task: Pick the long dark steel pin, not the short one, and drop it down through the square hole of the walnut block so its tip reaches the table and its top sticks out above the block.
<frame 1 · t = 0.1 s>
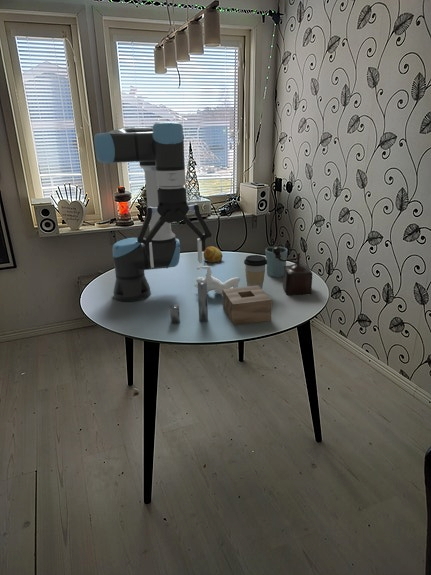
hand: (176, 264, 107), 28 cm above the table, tool pointing down, fingers open, 13 cm apart
person figurine: (217, 296, 156), on the table
short pin: (175, 322, 135), on the table
light blue mug: (275, 274, 178), on the table
long pin: (203, 319, 136), on the table
bread roll: (212, 260, 201), on the table
coffee cup: (255, 292, 159), on the table
pin block: (246, 314, 139), on the table
manual coffee grinder: (290, 290, 160), on the table
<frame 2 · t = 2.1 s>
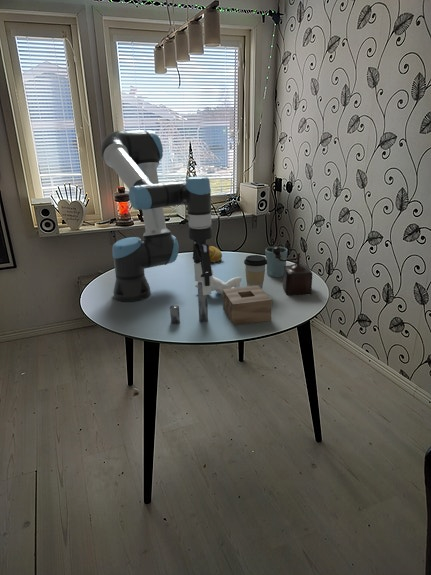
hand: (202, 287, 131), 13 cm above the table, tool pointing down, fingers open, 13 cm apart
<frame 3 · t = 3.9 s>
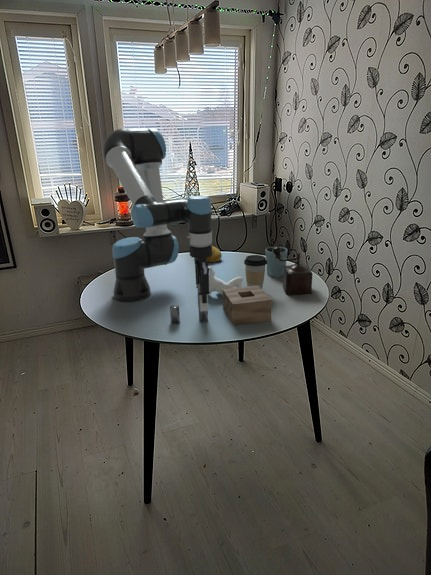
hand: (203, 308, 134), 5 cm above the table, tool pointing down, fingers closed on long pin, 3 cm apart
long pin: (203, 319, 136), on the table, touching gripper
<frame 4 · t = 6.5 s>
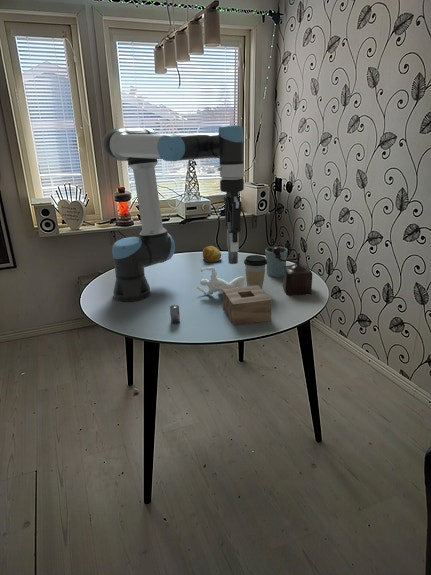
hand: (233, 249, 128), 25 cm above the table, tool pointing down, fingers closed on long pin, 3 cm apart
long pin: (233, 262, 130), point 21 cm above the table, touching gripper
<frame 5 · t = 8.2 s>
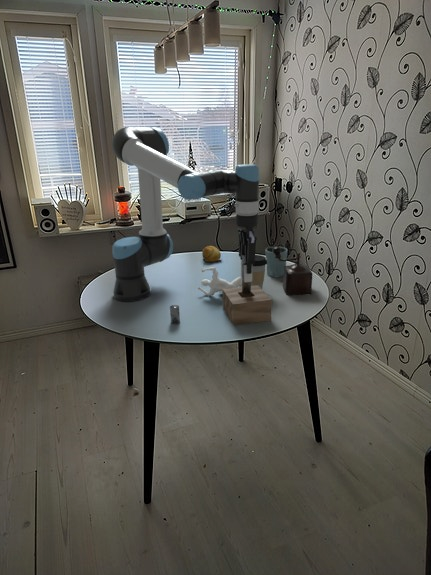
hand: (246, 279, 134), 14 cm above the table, tool pointing down, fingers closed on long pin, 3 cm apart
long pin: (246, 292, 136), point 9 cm above the table, touching gripper
when the fingers open (10 cm above the table, at t = 9.3 s): long pin drops 5 cm, resting in pin block.
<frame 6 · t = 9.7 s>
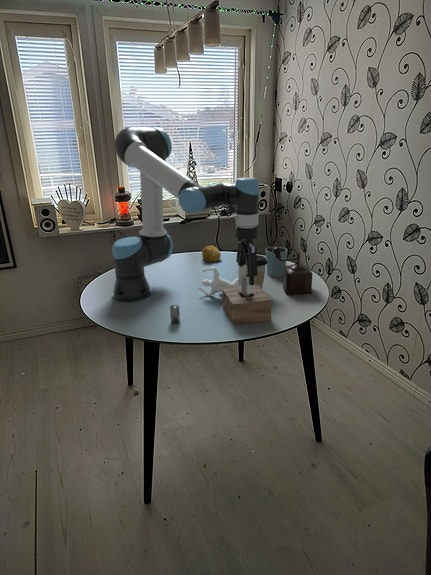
hand: (246, 287, 135), 11 cm above the table, tool pointing down, fingers open, 9 cm apart
long pin: (246, 314, 139), resting in pin block
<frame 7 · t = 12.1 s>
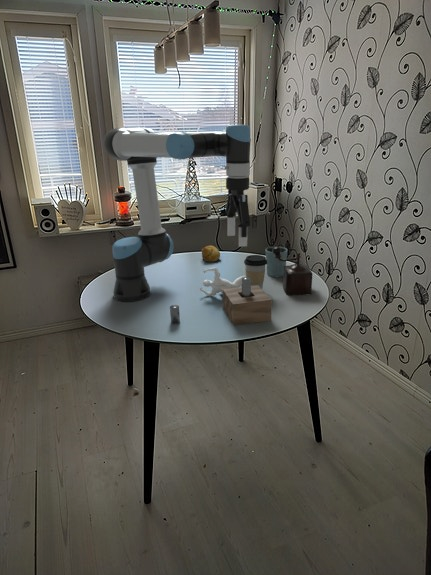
hand: (236, 240, 130), 28 cm above the table, tool pointing down, fingers open, 13 cm apart
person figurine: (225, 297, 155), on the table, touching coffee cup
coffee cup: (255, 292, 159), on the table, touching person figurine
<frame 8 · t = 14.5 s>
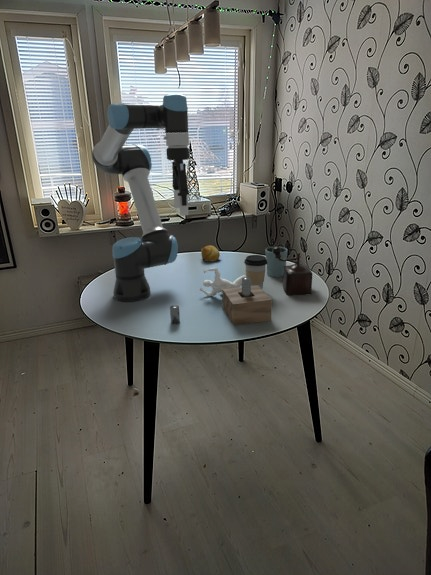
hand: (181, 211, 133), 37 cm above the table, tool pointing down, fingers open, 13 cm apart
person figurine: (225, 297, 155), on the table
coffee cup: (255, 292, 159), on the table
at the end: long pin 0.0 cm off-centre on the pin block, point 0.0 cm above the pin block's base; long pin tilted 0°; short pin moved 0.0 cm from its start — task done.
